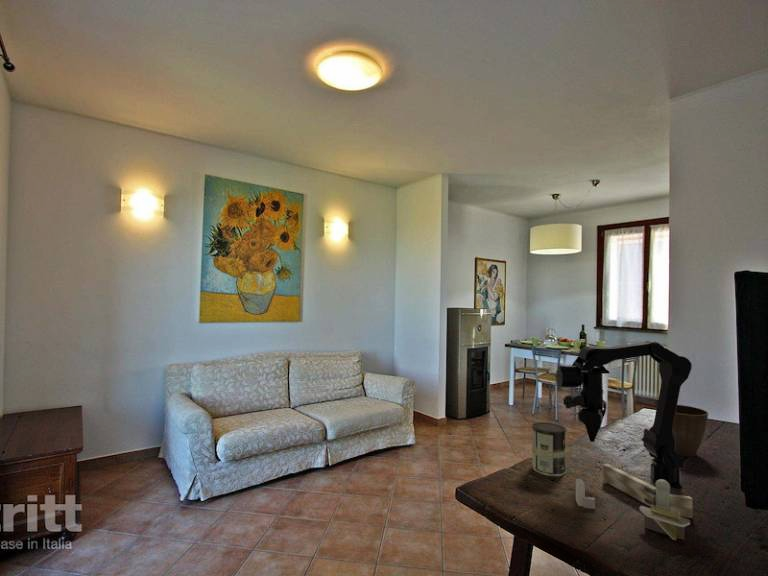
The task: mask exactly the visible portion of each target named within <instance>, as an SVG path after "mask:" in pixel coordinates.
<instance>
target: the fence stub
mask: <svg viewBox="0 0 768 576" xmlns="http://www.w3.org/2000/svg"><path fill="white" fill-rule="evenodd" d="M672 510H673V511H672ZM675 511H677V512H675ZM679 512H680V517H682V518H685V519H693V517H694V516H693V498H692V497H691V496H687V495H681V494H680V495H679V494H671V493H670V514H672V513H673V514H672V515H675V514H677V515H675V516H679Z"/></svg>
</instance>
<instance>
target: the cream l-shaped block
mask: <svg viewBox="0 0 768 576" xmlns="http://www.w3.org/2000/svg"><path fill="white" fill-rule="evenodd" d="M585 487H586V485H585V482H584V481H583V479H582V478H581V479H580V478H575V501H576V504H577V506H579V507H583V508H585V509H592V510H595V509H596V499H595V497H592V496H586V495H585V493H586V489H585Z"/></svg>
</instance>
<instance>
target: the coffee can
mask: <svg viewBox="0 0 768 576" xmlns="http://www.w3.org/2000/svg"><path fill="white" fill-rule="evenodd" d="M531 429H532V469H533V471H535V472H536V473H538V474H540V475H543V476H547V477H561V476H562V477H563V476H564V475H566V473H567V472H566V430H567V429H566V427H564V426H563V425H560V424H557V423H553V422H547V421H546V422H545V421H542V422H534V423H532V425H531Z"/></svg>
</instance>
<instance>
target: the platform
mask: <svg viewBox="0 0 768 576" xmlns="http://www.w3.org/2000/svg"><path fill="white" fill-rule="evenodd" d="M652 506H653V505H652V504H651V507H647V506H643V505H640V506H639V511H640V512H641V513H642V514H643V515H644V528H645V529H647V530H651V531H654V532H657V533H660V534H664V535H666V536H669V537H670V539H672V540H674V541H677V539H679V540H683V541H685V540H686V539H685V535H686V534H685V532H686V531H685V527H687V526H690V525H691V520H690V518H686V517H680V512H679V516H675V515H677V514H675V515H672V514H673V513H672V514H669V513H670V512H669V511H668V510H670V509H666V508H663V507H659V506H658V509H656V508H652ZM654 506H656V505H654ZM654 506H653V507H654ZM672 511H673V510H672ZM675 512H677V511H675Z"/></svg>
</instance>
